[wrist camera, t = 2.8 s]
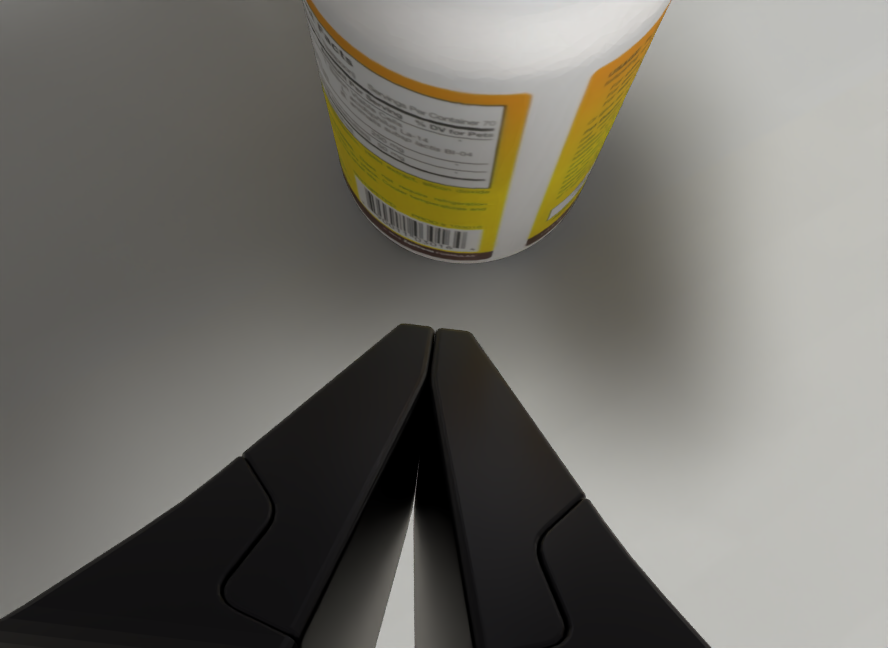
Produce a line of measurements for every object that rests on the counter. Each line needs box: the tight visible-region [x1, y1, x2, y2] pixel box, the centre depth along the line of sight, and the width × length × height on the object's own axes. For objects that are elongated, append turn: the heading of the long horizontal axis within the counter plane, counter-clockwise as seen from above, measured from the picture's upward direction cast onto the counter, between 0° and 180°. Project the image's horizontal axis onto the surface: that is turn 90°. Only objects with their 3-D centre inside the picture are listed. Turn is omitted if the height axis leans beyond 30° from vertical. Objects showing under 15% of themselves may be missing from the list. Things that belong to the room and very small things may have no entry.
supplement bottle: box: [302, 0, 671, 264], centre depth 13 cm, size 6×6×10 cm
